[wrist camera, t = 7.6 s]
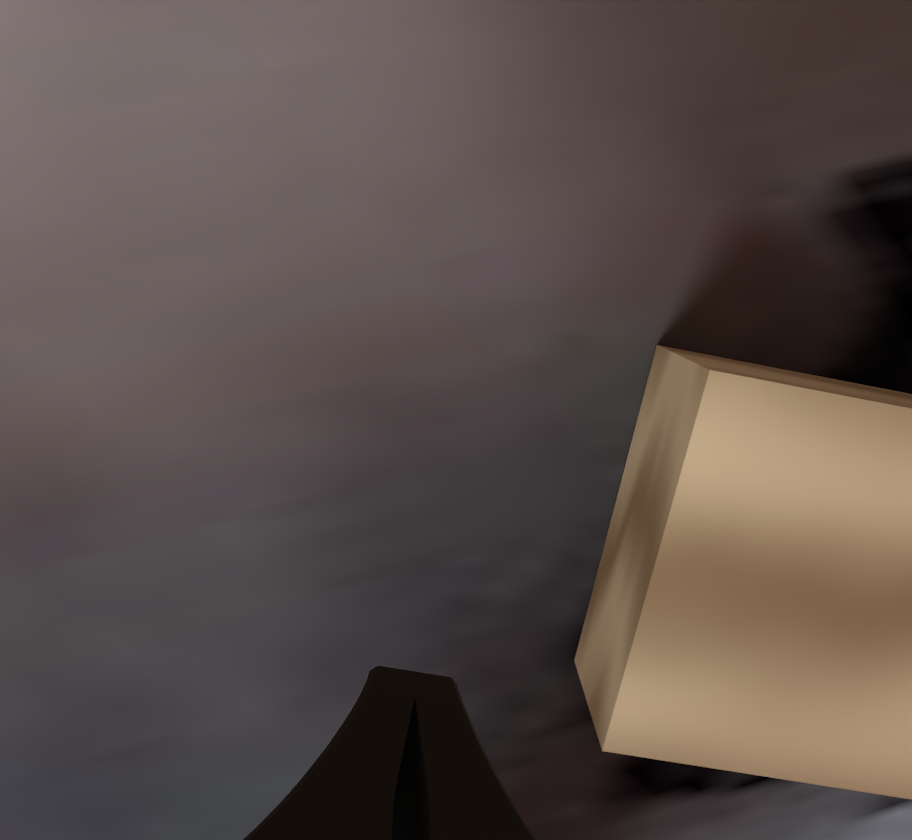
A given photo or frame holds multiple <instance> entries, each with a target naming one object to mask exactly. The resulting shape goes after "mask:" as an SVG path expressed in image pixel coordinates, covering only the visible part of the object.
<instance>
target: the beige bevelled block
mask: <svg viewBox="0 0 912 840" xmlns="http://www.w3.org/2000/svg"><path fill="white" fill-rule="evenodd" d="M574 662H575V665H576V668H577V672H578V675H579V678H580V681H581V684H582V688H583V691H584V694H585V697H586V701H587V704H588V707H589V710H590V713H591V717H592V720H593V723H594V726H595V730H596V733H597V736H598V739H599V742H600V746H601V749H602V751H605V752H611V753H618V754H624V755H631V756H637V757H643V758H650V759H656V760H662V761H669V762H675V763H682V764H688V765H694V766H701V767H707V768H714V769H720V770H726V771H733V772H739V773H746V774H752V775H758V776H765V777H771V778H777V779H784V780H790V781H797V782H803V783H809V784H816V785H822V786H829V787H835V788H841V789H848V790H854V791H861V792H867V793H873V794H880V795H886V796H892V797H899V798H905V799H912V394H909V393H903V392H898V391H893V390H888V389H883V388H878V387H872V386H867V385H862V384H857V383H852V382H847V381H841V380H836V379H831V378H826V377H821V376H815V375H810V374H805V373H800V372H795V371H790V370H784V369H779V368H774V367H769V366H764V365H759V364H753V363H748V362H743V361H738V360H733V359H728V358H722V357H717V356H712V355H707V354H702V353H696V352H691V351H686V350H681V349H676V348H671V347H665V346H660V345H657V346H656V350H655V354H654V358H653V362H652V366H651V369H650V373H649V377H648V381H647V385H646V388H645V392H644V396H643V400H642V404H641V408H640V411H639V415H638V419H637V423H636V427H635V430H634V434H633V438H632V442H631V446H630V450H629V453H628V457H627V461H626V465H625V469H624V472H623V476H622V480H621V484H620V488H619V492H618V495H617V499H616V503H615V507H614V511H613V514H612V518H611V522H610V526H609V530H608V533H607V537H606V541H605V545H604V549H603V553H602V556H601V560H600V564H599V568H598V572H597V575H596V579H595V583H594V587H593V591H592V595H591V598H590V602H589V606H588V610H587V614H586V617H585V621H584V625H583V629H582V633H581V637H580V640H579V644H578V648H577V652H576V656H575V659H574Z"/></svg>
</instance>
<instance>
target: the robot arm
mask: <svg viewBox="0 0 912 840" xmlns="http://www.w3.org/2000/svg"><path fill="white" fill-rule="evenodd" d="M243 840H535V838H534V837H533V835H532V834H531V832H530V831H529V829H528V827H527V826H526V824H525V823H524V821H523V820H522V818H521V816H520V815H519V813H518V811H517V810H516V808H515V806H514V805H513V803H512V801H511V800H510V798H509V796H508V795H507V793H506V791H505V789H504V787H503V786H502V784H501V782H500V780H499V778H498V777H497V775H496V773H495V771H494V769H493V767H492V765H491V763H490V761H489V759H488V757H487V755H486V753H485V751H484V749H483V747H482V745H481V743H480V741H479V739H478V737H477V735H476V732H475V730H474V728H473V725H472V723H471V721H470V719H469V716H468V714H467V712H466V709H465V707H464V704H463V702H462V699H461V696H460V693H459V691H458V688H457V685H456V683H455V682H454V680H453V679H452V678H451V677H445V676H438V675H432V674H426V673H420V672H414V671H407V670H401V669H395V668H389V667H382V666H377V667H375V668H374V669H372V670H370V672H369V675H368V679H367V681H366V684H365V686H364V688H363V690H362V692H361V694H360V696H359V698H358V700H357V702H356V703H355V705H354V707H353V708H352V710H351V712H350V713H349V715H348V717H347V718H346V720H345V721H344V723H343V724H342V726H341V727H340V728H339V730H338V731H337V733H336V734H335V736H334V737H333V739H332V740H331V742H330V743H329V745H328V746H327V747H326V749H325V750H324V751H323V752H322V754H321V755H320V756H319V758H318V759H317V760H316V761H315V763H314V764H313V765H312V766H311V768H310V769H309V770H308V771H307V773H306V774H305V775H304V776H303V778H302V779H301V780H300V781H299V782H298V784H297V785H296V786H295V787H294V788H293V789H292V790H291V792H290V793H289V794H288V795H287V796H286V797H285V798H284V799H283V800H282V802H281V803H280V804H279V805H278V806H277V807H276V808H275V809H274V810H273V811H272V812H271V813H270V814H269V815H268V816H267V817H266V818H265V819H264V820H263V821H262V822H261V823H260V824H259V825H258V826H257V827H256V828H255V829H254V830H253V831H252V832H251V833H250V834H249V835H248V836H247V837H246V838H244V839H243Z"/></svg>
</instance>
